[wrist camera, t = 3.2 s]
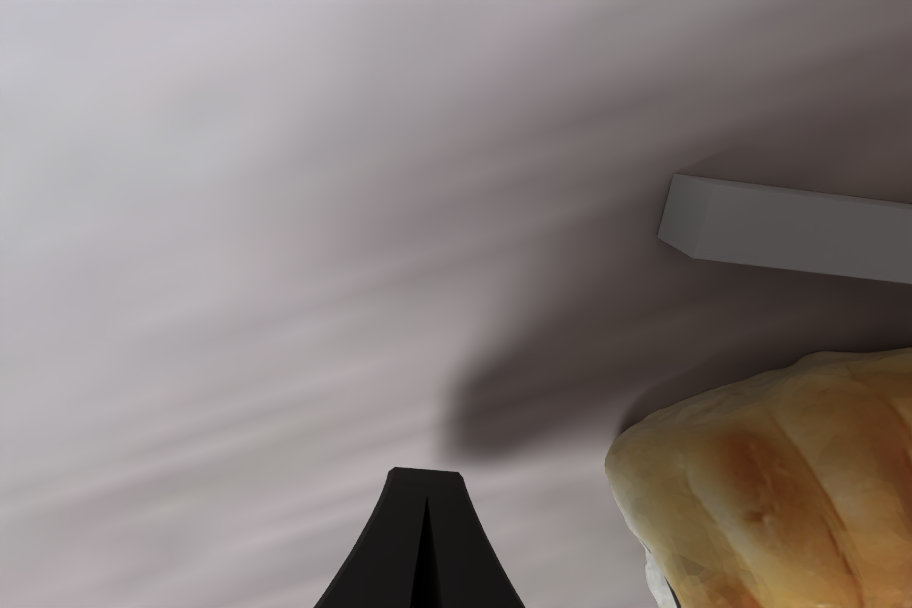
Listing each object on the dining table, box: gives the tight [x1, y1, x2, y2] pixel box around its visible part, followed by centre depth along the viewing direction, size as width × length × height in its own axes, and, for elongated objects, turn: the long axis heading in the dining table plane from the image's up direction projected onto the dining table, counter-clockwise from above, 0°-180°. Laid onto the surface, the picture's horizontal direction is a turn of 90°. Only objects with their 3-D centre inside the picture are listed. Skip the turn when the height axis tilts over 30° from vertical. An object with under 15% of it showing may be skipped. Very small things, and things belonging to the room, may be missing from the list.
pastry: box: [605, 347, 912, 608], centre depth 10 cm, size 9×7×4 cm
